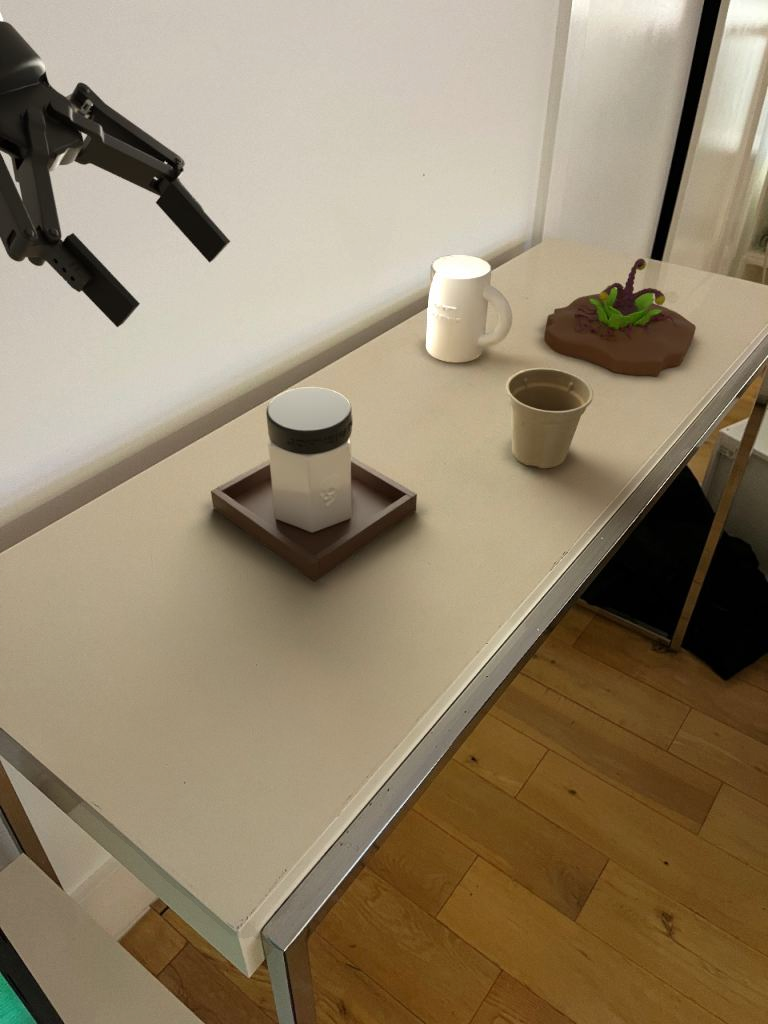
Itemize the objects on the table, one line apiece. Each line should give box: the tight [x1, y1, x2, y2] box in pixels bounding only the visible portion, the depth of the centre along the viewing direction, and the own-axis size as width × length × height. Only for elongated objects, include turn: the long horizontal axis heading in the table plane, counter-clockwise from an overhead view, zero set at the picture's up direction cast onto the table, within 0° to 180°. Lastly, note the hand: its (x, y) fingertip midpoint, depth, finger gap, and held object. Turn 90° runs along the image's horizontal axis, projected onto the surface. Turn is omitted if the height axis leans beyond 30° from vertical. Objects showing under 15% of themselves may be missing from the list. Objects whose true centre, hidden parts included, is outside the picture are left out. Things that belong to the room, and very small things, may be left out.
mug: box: [425, 254, 513, 364], centre depth 104 cm, size 8×12×12 cm
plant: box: [543, 258, 697, 377], centre depth 109 cm, size 20×20×11 cm
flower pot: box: [505, 367, 594, 469], centre depth 87 cm, size 9×9×9 cm
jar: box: [265, 386, 354, 533], centre depth 77 cm, size 9×8×12 cm
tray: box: [210, 455, 418, 582], centre depth 81 cm, size 15×16×2 cm
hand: (178, 281), depth 63 cm, fingers open, 13 cm apart
